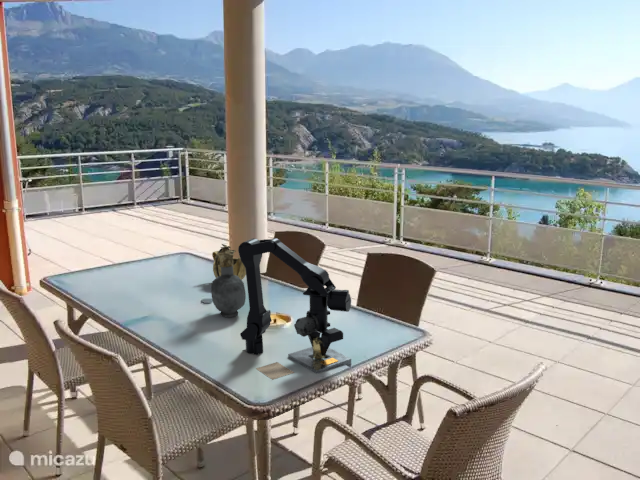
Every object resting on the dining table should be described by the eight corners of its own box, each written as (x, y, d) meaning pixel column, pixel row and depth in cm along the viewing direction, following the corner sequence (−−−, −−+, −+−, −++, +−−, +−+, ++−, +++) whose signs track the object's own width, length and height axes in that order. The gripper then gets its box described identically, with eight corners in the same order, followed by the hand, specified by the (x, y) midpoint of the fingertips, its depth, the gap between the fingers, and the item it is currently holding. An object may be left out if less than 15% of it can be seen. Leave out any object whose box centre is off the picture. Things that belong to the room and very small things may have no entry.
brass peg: (310, 356, 180) (310, 338, 178) (320, 353, 182) (320, 336, 181) (317, 360, 176) (317, 342, 175) (327, 356, 179) (327, 339, 178)
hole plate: (288, 359, 182) (288, 353, 181) (321, 349, 190) (321, 343, 190) (316, 376, 169) (316, 369, 169) (351, 364, 177) (351, 358, 177)
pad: (255, 371, 173) (255, 368, 173) (277, 364, 178) (277, 361, 178) (272, 382, 166) (272, 379, 165) (294, 375, 170) (294, 372, 170)
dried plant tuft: (203, 282, 275) (201, 253, 272) (229, 275, 288) (227, 247, 285) (232, 290, 261) (231, 260, 258) (258, 282, 274) (257, 253, 271)
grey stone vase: (225, 322, 218) (221, 249, 212) (206, 309, 233) (202, 241, 227) (249, 316, 224) (246, 245, 218) (229, 305, 239) (226, 238, 233)
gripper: (281, 306, 179) (283, 350, 182) (315, 321, 164) (316, 370, 167) (309, 299, 185) (310, 342, 188) (344, 313, 170) (344, 360, 174)
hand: (319, 353), depth 179 cm, fingers closed on brass peg, 4 cm apart
